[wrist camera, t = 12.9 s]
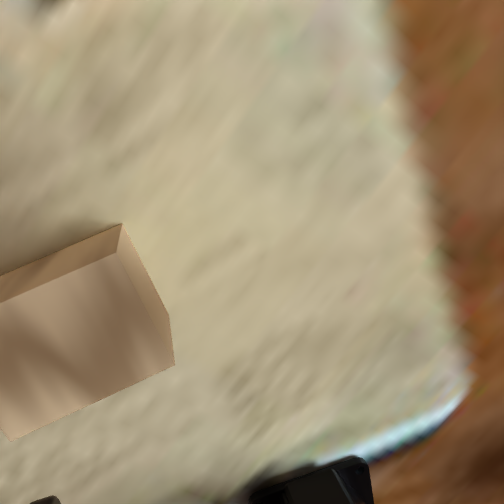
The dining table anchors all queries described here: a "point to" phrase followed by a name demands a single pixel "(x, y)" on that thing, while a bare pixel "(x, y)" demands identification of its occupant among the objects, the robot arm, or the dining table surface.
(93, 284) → the wood block
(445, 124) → the dining table surface
